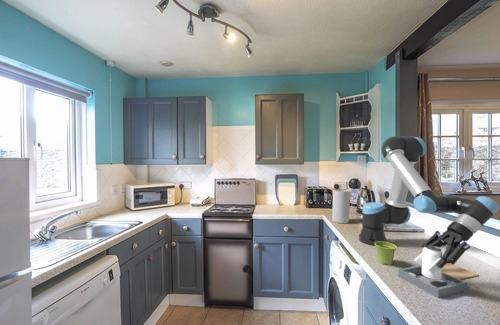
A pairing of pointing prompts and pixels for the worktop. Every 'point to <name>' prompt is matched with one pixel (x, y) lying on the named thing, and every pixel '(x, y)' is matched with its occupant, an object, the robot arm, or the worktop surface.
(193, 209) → the worktop surface
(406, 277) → the tray
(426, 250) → the can
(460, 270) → the pad
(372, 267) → the worktop surface
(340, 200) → the cylinder vase
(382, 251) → the plant pot
